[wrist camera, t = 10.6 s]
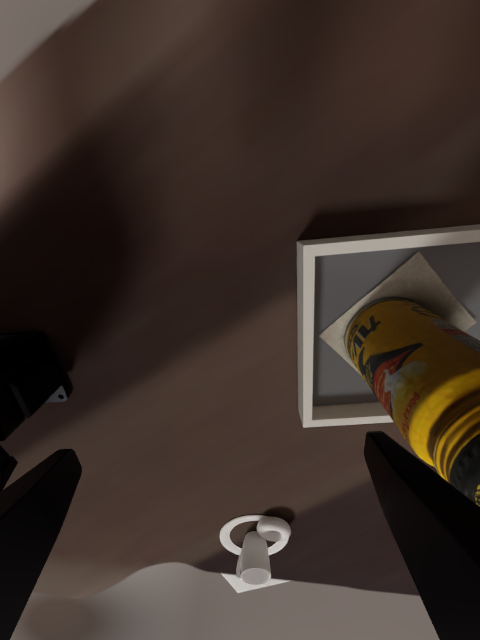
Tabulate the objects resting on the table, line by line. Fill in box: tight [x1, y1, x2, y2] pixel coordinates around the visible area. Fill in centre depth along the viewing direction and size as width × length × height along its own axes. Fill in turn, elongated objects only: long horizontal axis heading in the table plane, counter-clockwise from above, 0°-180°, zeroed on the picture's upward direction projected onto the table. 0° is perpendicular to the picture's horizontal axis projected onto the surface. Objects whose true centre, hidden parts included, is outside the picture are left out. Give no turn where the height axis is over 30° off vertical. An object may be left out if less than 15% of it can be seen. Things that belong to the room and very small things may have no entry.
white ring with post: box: [220, 515, 291, 593], centre depth 30 cm, size 9×8×4 cm
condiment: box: [320, 252, 480, 506], centre depth 15 cm, size 7×8×12 cm
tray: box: [297, 224, 480, 428], centre depth 20 cm, size 14×14×2 cm
